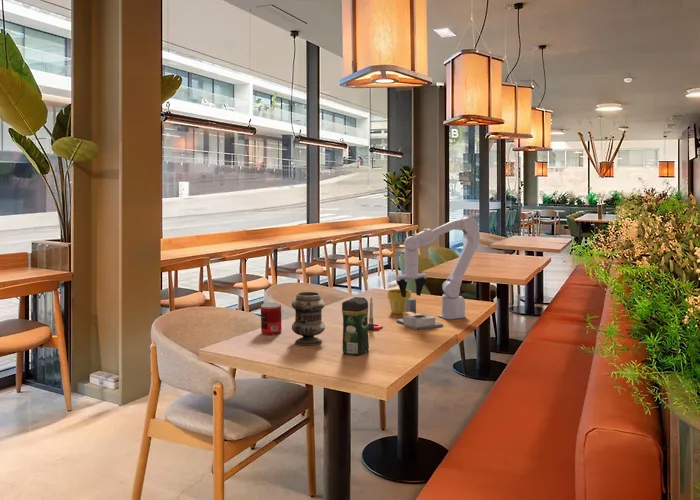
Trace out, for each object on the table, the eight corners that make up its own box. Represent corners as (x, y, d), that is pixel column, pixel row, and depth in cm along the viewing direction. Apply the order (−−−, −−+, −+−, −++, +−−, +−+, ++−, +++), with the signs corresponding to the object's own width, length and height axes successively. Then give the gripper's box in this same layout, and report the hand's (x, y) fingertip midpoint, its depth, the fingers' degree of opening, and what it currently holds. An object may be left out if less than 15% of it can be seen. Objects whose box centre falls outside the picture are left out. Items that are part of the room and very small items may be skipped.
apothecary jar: (312, 348, 198) (311, 297, 196) (285, 343, 205) (284, 294, 203) (331, 340, 208) (331, 292, 207) (305, 336, 215) (304, 289, 213)
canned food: (284, 331, 223) (284, 303, 222) (275, 336, 216) (275, 307, 215) (267, 329, 226) (266, 302, 225) (257, 334, 218) (257, 306, 217)
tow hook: (363, 325, 233) (360, 330, 224) (363, 294, 232) (360, 297, 223) (383, 326, 232) (381, 331, 223) (383, 295, 231) (381, 298, 222)
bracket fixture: (420, 318, 243) (420, 309, 243) (442, 326, 229) (443, 316, 229) (395, 321, 238) (395, 312, 237) (417, 330, 224) (417, 320, 223)
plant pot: (411, 315, 251) (411, 293, 250) (388, 315, 251) (388, 293, 250) (409, 310, 261) (409, 289, 260) (387, 310, 261) (387, 289, 260)
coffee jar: (351, 347, 200) (350, 294, 198) (371, 349, 197) (371, 296, 195) (338, 354, 191) (338, 299, 189) (360, 357, 188) (359, 301, 186)
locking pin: (411, 316, 248) (412, 298, 247) (415, 317, 245) (416, 299, 245) (406, 317, 247) (406, 298, 246) (410, 318, 244) (410, 300, 243)
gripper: (420, 262, 251) (419, 293, 252) (391, 264, 244) (391, 296, 245) (429, 264, 244) (429, 295, 246) (400, 266, 238) (400, 298, 239)
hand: (411, 296), depth 245 cm, fingers open, 7 cm apart
